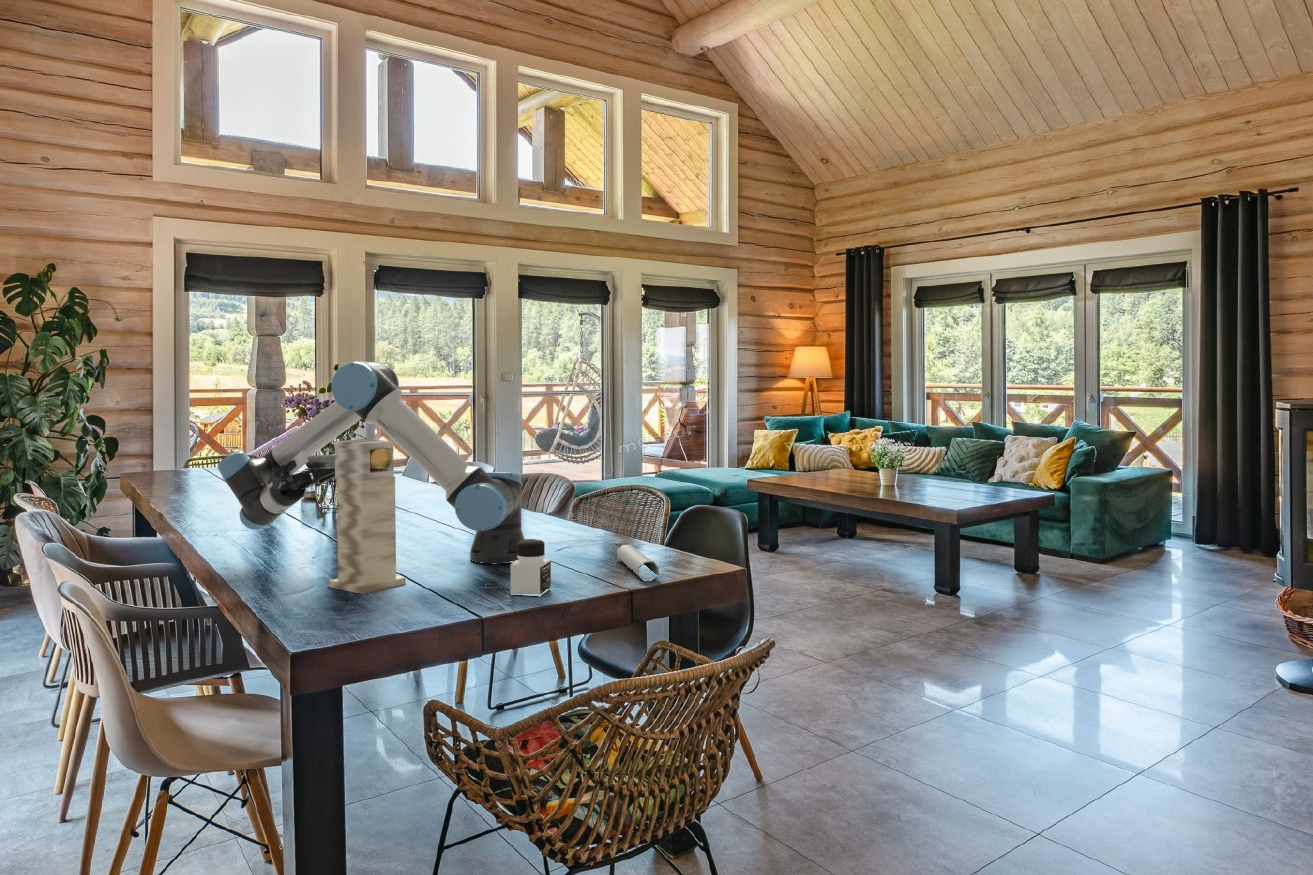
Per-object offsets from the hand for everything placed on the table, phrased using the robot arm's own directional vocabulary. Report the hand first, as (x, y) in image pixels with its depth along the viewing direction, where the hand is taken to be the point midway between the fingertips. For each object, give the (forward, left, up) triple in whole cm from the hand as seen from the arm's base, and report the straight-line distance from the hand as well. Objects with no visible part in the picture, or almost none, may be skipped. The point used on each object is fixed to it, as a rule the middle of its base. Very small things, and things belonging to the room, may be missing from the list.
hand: (330, 453), depth 207 cm
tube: (-71, -15, -30) cm, 79 cm away
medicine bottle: (-49, +10, -30) cm, 58 cm away
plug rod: (-5, +3, -3) cm, 7 cm away
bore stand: (-10, +6, -30) cm, 32 cm away
